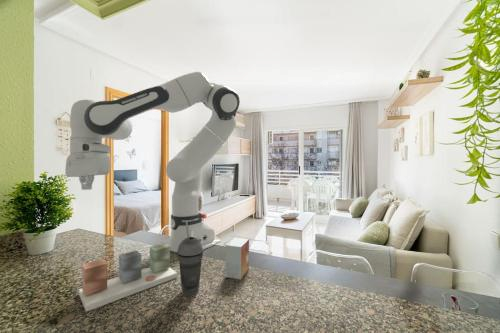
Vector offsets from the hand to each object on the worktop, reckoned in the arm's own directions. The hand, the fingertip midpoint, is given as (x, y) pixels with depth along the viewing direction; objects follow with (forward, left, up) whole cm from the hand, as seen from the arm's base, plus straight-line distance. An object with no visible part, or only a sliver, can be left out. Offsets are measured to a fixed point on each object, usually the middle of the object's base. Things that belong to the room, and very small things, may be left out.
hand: (86, 189), depth 77 cm
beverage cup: (-19, +35, -28) cm, 48 cm away
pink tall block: (+1, +19, -25) cm, 32 cm away
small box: (-36, +36, -28) cm, 58 cm away
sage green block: (-17, +19, -25) cm, 36 cm away
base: (-8, +20, -27) cm, 35 cm away
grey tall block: (-8, +19, -25) cm, 33 cm away
